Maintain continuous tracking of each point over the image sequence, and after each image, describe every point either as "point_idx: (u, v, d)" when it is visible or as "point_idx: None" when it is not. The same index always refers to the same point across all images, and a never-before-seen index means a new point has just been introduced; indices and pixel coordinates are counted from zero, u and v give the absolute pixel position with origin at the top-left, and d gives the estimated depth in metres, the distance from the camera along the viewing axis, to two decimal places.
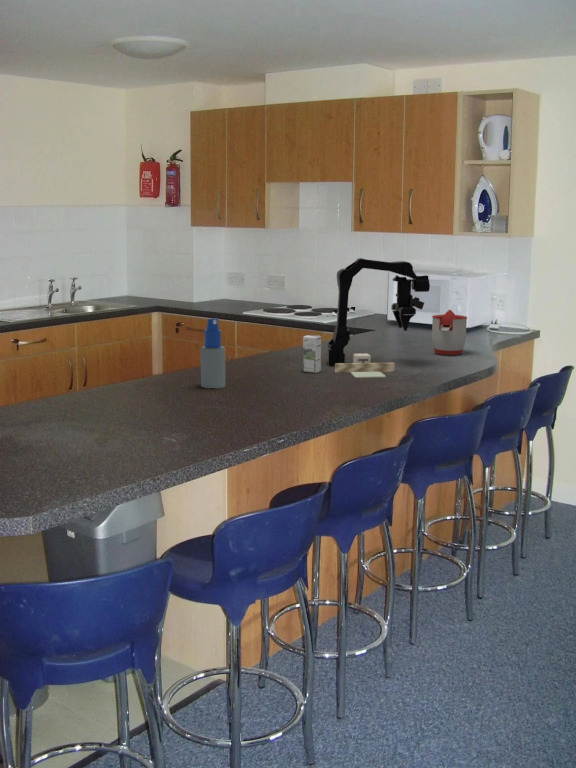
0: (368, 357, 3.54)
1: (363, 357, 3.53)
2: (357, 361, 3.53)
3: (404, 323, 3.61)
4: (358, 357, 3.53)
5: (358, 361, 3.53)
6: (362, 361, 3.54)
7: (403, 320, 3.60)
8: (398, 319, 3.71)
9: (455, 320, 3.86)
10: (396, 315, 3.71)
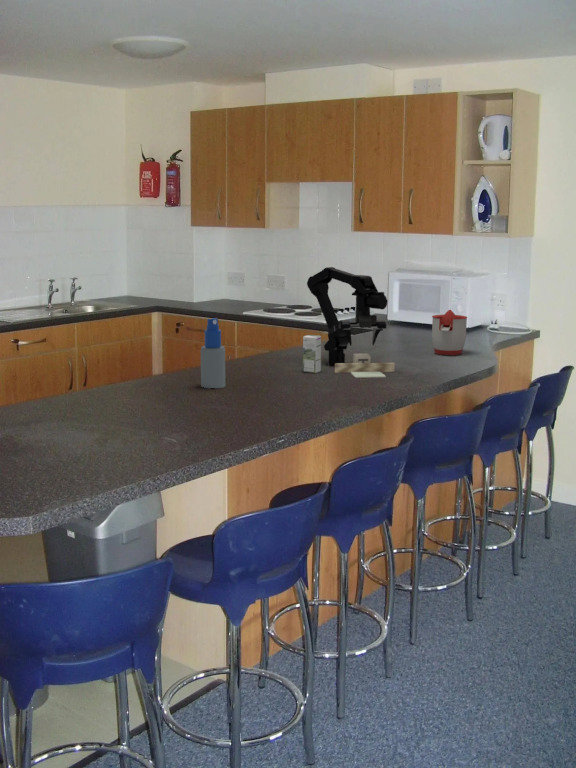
0: (368, 357, 3.54)
1: (363, 357, 3.53)
2: (357, 361, 3.53)
3: (348, 337, 3.55)
4: (358, 357, 3.53)
5: (358, 361, 3.53)
6: (362, 361, 3.54)
7: (346, 334, 3.55)
8: (373, 336, 3.56)
9: (455, 320, 3.86)
10: (373, 332, 3.57)
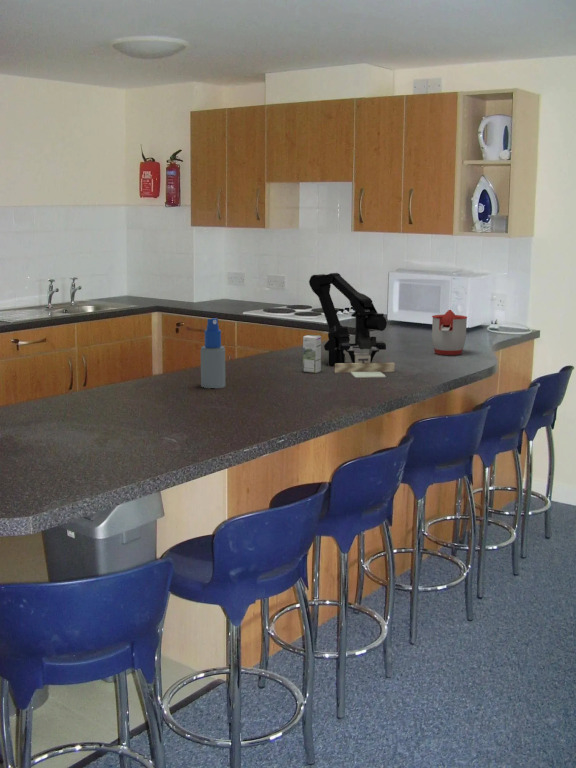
0: (368, 357, 3.54)
1: (363, 357, 3.53)
2: (357, 361, 3.53)
3: (351, 358, 3.57)
4: (358, 357, 3.53)
5: (358, 361, 3.53)
6: (362, 361, 3.54)
7: None
8: None
9: (455, 320, 3.86)
10: (369, 353, 3.58)
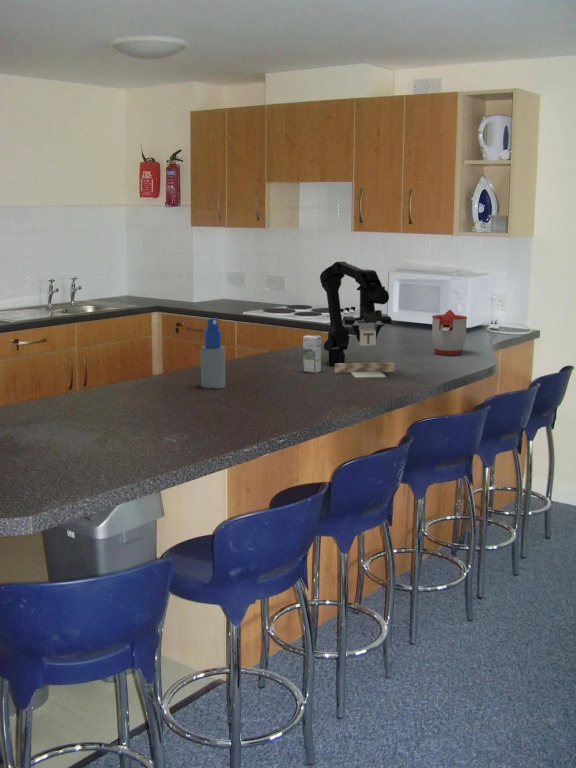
0: (373, 331, 3.44)
1: (368, 331, 3.43)
2: (362, 336, 3.43)
3: (356, 333, 3.47)
4: (363, 331, 3.43)
5: (363, 336, 3.43)
6: (367, 335, 3.44)
7: (354, 330, 3.47)
8: None
9: (455, 320, 3.86)
10: (374, 328, 3.48)
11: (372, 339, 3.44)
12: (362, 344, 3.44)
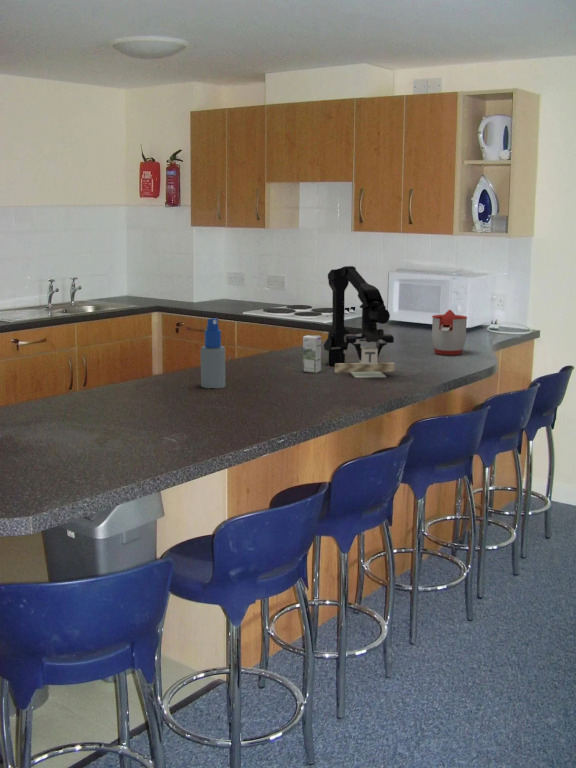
0: (375, 350, 3.40)
1: (370, 350, 3.39)
2: (364, 354, 3.39)
3: (357, 351, 3.43)
4: (365, 350, 3.39)
5: (365, 354, 3.39)
6: (369, 354, 3.40)
7: (356, 348, 3.43)
8: None
9: (455, 320, 3.86)
10: (376, 346, 3.44)
11: (374, 358, 3.40)
12: (363, 363, 3.40)
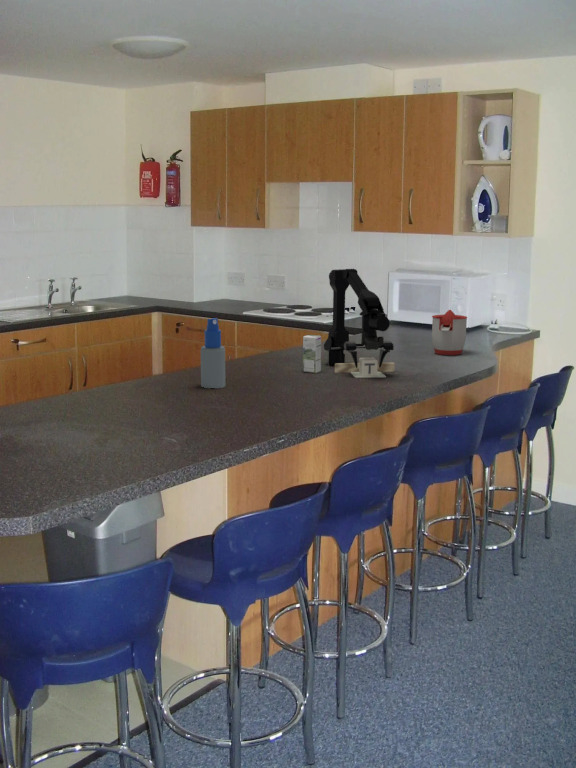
0: (375, 361, 3.40)
1: (370, 361, 3.40)
2: (363, 366, 3.40)
3: (353, 359, 3.43)
4: (364, 361, 3.40)
5: (364, 366, 3.40)
6: (369, 366, 3.40)
7: (352, 355, 3.43)
8: (379, 358, 3.44)
9: (455, 320, 3.86)
10: None
11: (374, 369, 3.41)
12: (363, 374, 3.41)
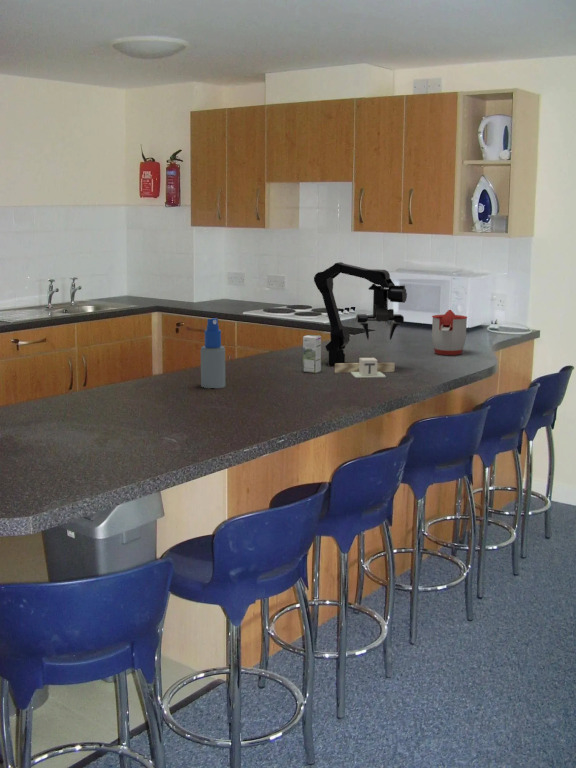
0: (375, 361, 3.40)
1: (370, 361, 3.40)
2: (363, 366, 3.40)
3: (365, 331, 3.56)
4: (364, 361, 3.40)
5: (364, 366, 3.40)
6: (369, 366, 3.40)
7: (364, 327, 3.57)
8: (390, 330, 3.57)
9: (455, 320, 3.86)
10: None
11: (374, 369, 3.41)
12: (363, 374, 3.41)
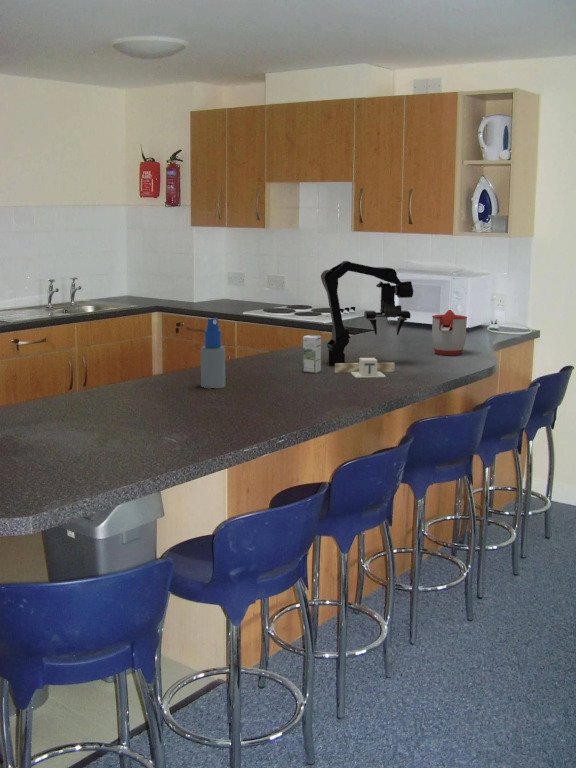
0: (375, 361, 3.40)
1: (370, 361, 3.40)
2: (363, 366, 3.40)
3: (373, 327, 3.68)
4: (364, 361, 3.40)
5: (364, 366, 3.40)
6: (369, 366, 3.40)
7: (371, 323, 3.69)
8: (397, 326, 3.70)
9: (455, 320, 3.86)
10: (397, 322, 3.70)
11: (374, 369, 3.41)
12: (363, 374, 3.41)
